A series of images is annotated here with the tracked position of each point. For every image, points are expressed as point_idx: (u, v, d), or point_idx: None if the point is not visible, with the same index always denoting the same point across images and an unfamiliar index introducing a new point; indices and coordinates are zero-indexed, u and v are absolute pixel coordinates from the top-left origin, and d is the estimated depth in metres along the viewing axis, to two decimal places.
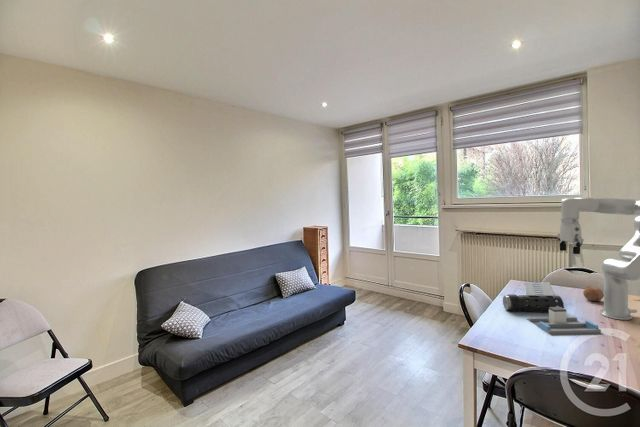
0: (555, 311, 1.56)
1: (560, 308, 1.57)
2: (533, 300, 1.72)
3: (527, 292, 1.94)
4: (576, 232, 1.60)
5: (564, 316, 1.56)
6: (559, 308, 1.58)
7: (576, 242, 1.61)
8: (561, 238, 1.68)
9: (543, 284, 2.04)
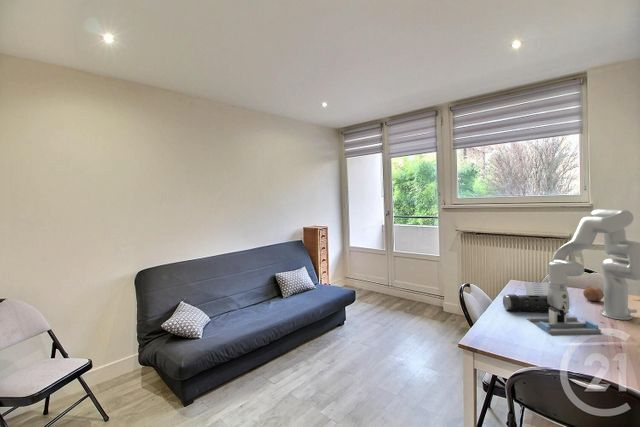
0: (555, 311, 1.56)
1: None
2: (533, 300, 1.72)
3: (527, 292, 1.94)
4: (564, 299, 1.52)
5: (564, 316, 1.56)
6: None
7: (561, 309, 1.55)
8: (549, 302, 1.61)
9: (543, 284, 2.04)
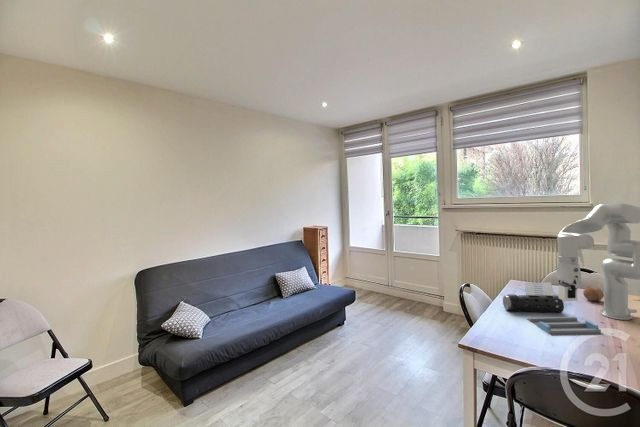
0: (566, 286, 1.48)
1: None
2: (533, 300, 1.72)
3: (527, 292, 1.94)
4: (575, 273, 1.44)
5: None
6: None
7: (572, 284, 1.47)
8: (559, 278, 1.52)
9: (544, 284, 2.04)
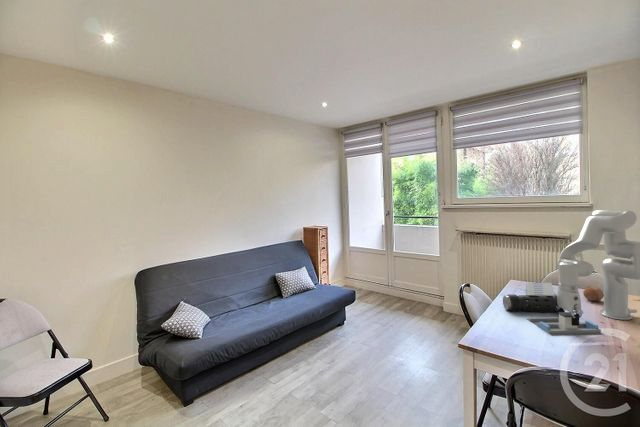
0: (566, 317, 1.49)
1: None
2: (533, 300, 1.72)
3: (527, 292, 1.94)
4: (575, 302, 1.45)
5: None
6: (569, 313, 1.51)
7: (575, 312, 1.46)
8: (559, 304, 1.53)
9: (545, 284, 2.03)
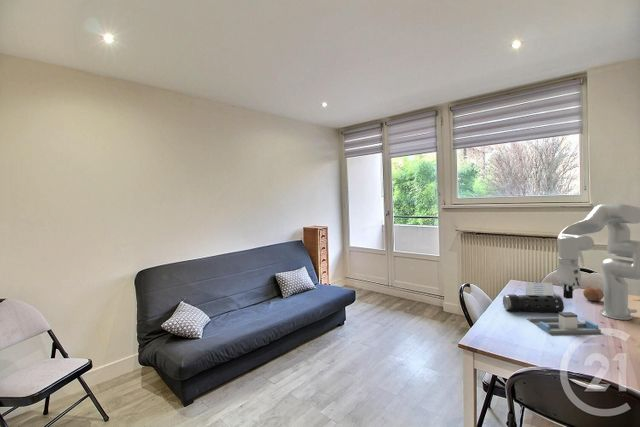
0: (566, 317, 1.49)
1: (571, 313, 1.50)
2: (533, 300, 1.72)
3: (527, 292, 1.94)
4: (575, 275, 1.44)
5: (575, 322, 1.48)
6: (569, 313, 1.51)
7: None
8: (559, 279, 1.53)
9: (545, 284, 2.03)
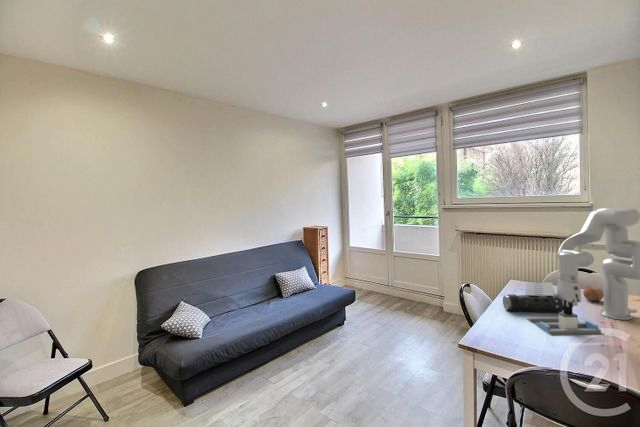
0: (566, 317, 1.49)
1: None
2: (533, 300, 1.72)
3: (527, 292, 1.94)
4: (575, 291, 1.45)
5: (575, 322, 1.48)
6: None
7: None
8: (559, 295, 1.53)
9: (545, 284, 2.03)
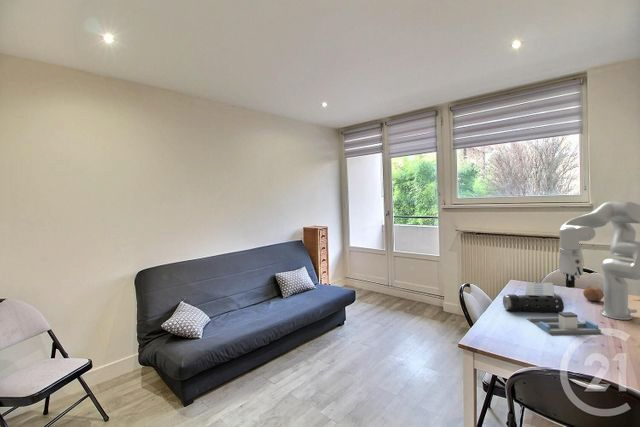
0: (566, 317, 1.49)
1: (571, 313, 1.50)
2: (533, 300, 1.72)
3: (527, 292, 1.94)
4: (577, 265, 1.49)
5: (575, 322, 1.48)
6: (569, 313, 1.51)
7: None
8: (561, 269, 1.57)
9: (546, 285, 2.03)
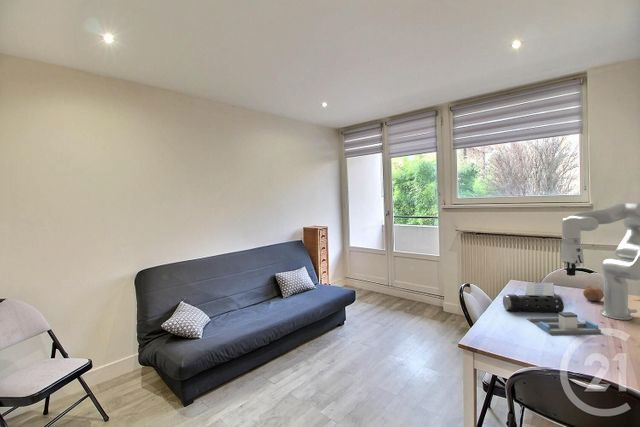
0: (566, 317, 1.49)
1: (571, 313, 1.50)
2: (533, 300, 1.72)
3: (527, 292, 1.94)
4: (578, 253, 1.55)
5: (575, 322, 1.48)
6: (569, 313, 1.51)
7: None
8: (562, 258, 1.63)
9: (546, 285, 2.03)
